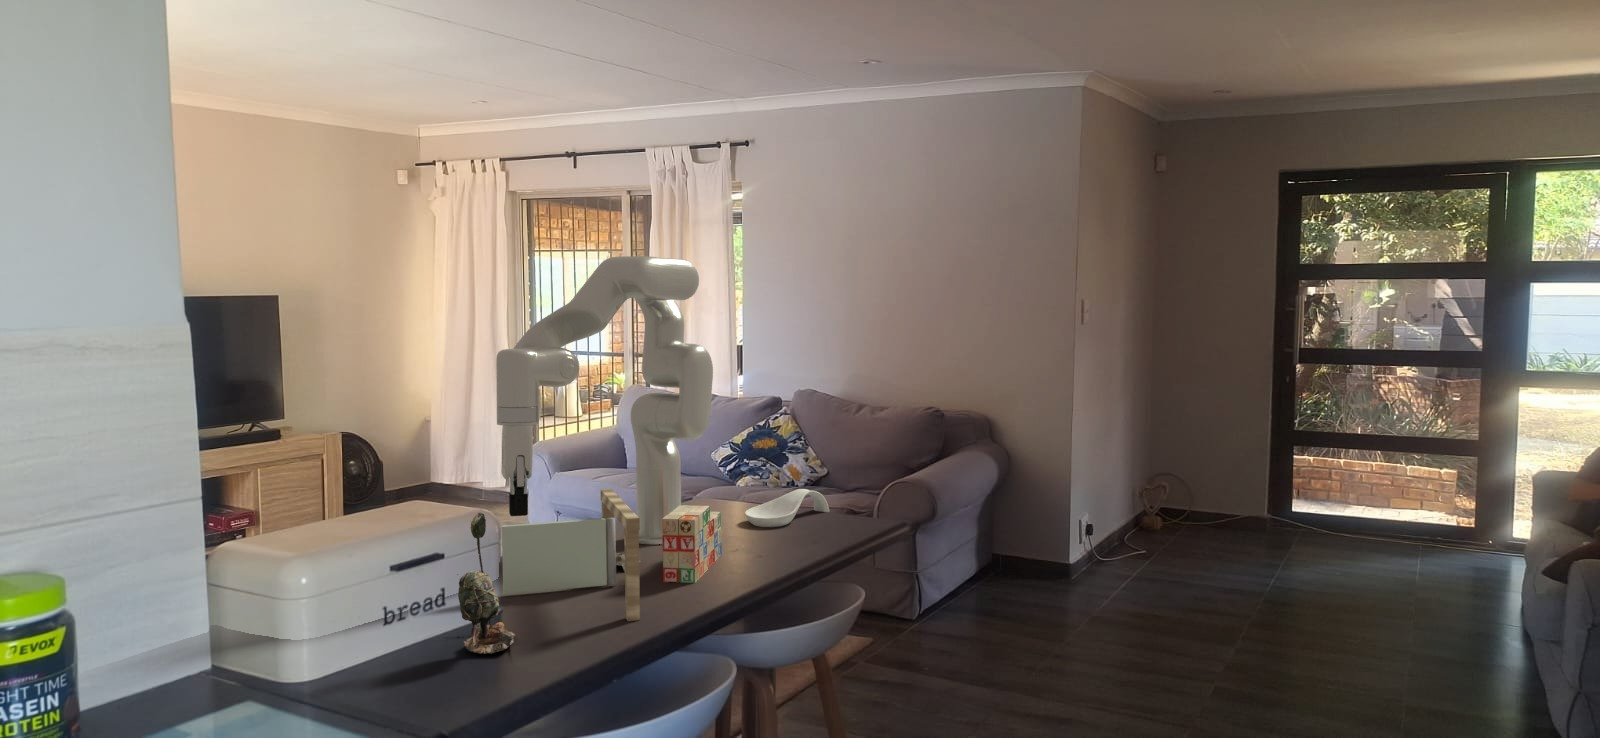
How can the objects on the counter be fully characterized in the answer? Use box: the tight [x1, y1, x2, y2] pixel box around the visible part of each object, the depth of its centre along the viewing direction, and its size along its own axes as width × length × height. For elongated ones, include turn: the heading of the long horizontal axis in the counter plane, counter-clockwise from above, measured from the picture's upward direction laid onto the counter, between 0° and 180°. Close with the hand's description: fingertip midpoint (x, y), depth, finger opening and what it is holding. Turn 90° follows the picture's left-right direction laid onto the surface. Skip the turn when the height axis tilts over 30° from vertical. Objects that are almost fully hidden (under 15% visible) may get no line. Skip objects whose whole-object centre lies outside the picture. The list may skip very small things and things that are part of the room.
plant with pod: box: [456, 512, 516, 654], centre depth 163 cm, size 8×11×20 cm
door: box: [501, 517, 617, 595], centre depth 194 cm, size 20×2×12 cm, turn 109°
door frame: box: [599, 488, 641, 622], centre depth 188 cm, size 28×2×17 cm, turn 19°
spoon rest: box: [744, 488, 830, 528], centre depth 252 cm, size 24×12×7 cm, turn 138°
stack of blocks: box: [661, 504, 723, 584], centre depth 209 cm, size 21×6×12 cm, turn 171°
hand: (518, 514), depth 201 cm, fingers closed
